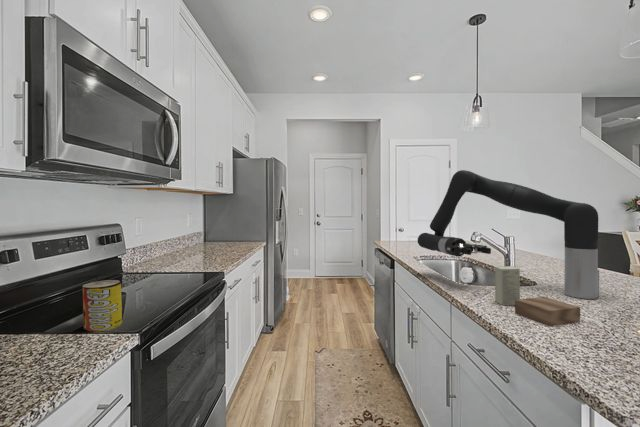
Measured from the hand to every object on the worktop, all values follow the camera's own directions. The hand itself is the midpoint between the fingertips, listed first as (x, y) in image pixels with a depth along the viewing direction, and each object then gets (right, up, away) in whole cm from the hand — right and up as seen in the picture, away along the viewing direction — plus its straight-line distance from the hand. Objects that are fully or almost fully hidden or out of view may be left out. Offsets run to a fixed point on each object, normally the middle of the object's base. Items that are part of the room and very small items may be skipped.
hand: (480, 251), depth 119 cm
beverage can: (-121, -18, -28) cm, 125 cm away
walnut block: (+7, -17, -25) cm, 31 cm away
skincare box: (+3, -16, -11) cm, 20 cm away
